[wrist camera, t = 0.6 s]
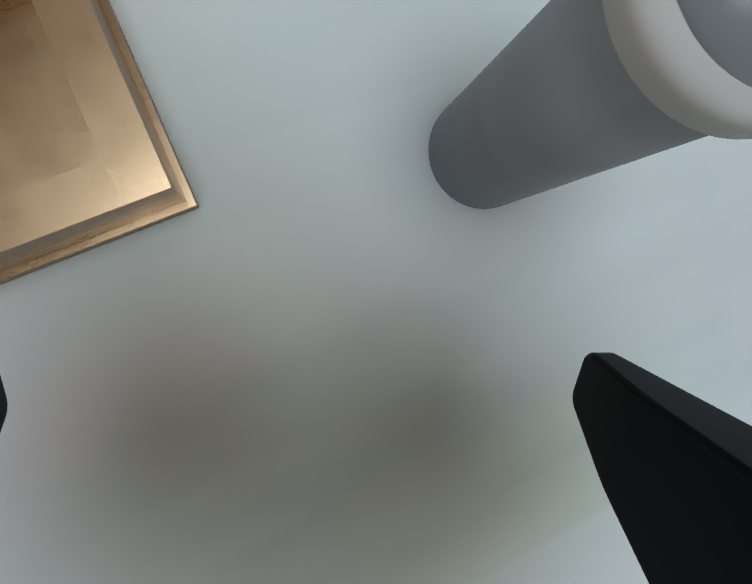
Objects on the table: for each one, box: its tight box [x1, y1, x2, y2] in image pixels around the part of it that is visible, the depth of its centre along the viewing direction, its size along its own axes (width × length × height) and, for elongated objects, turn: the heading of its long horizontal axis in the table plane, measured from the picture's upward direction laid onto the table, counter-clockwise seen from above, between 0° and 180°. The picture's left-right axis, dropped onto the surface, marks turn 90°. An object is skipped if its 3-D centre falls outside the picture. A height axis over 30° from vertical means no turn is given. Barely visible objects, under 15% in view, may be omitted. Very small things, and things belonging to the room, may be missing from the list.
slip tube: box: [429, 0, 752, 209], centre depth 16 cm, size 5×5×14 cm
